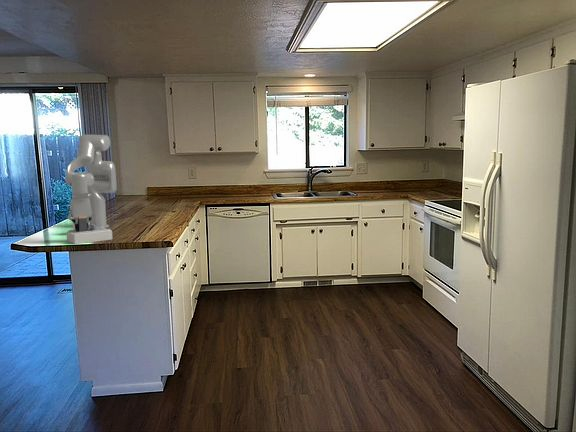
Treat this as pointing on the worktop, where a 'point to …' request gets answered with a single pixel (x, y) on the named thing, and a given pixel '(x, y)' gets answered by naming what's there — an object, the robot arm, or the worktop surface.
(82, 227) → the plug
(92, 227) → the shutter
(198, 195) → the worktop surface
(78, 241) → the socket block
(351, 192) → the worktop surface
